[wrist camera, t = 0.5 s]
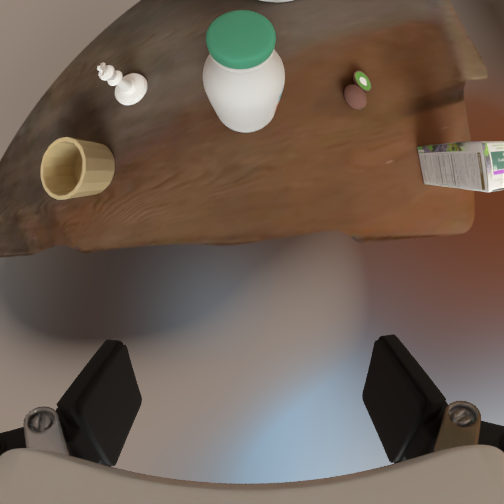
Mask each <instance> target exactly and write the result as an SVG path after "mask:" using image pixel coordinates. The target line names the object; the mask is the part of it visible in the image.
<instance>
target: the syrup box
mask: <svg viewBox="0 0 504 504" xmlns="http://www.w3.org/2000/svg"><path fill="white" fill-rule="evenodd" d="M417 150H418V155H419V159H420V165H421V170H422V175H423V181H424V184H428V185H437V186H445V187H454V188H461V189H468V190H475V191H483V192H492V191H499V190H504V141H474V142H473V141H472V142H455V143H445V144H436V145H428V146H421V147H417Z"/></svg>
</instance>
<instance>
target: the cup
mask: <svg viewBox="0 0 504 504" xmlns="http://www.w3.org/2000/svg"><path fill="white" fill-rule="evenodd" d="M114 171H115V161H114V157H113V154H112V152H111V151H110V149H109V148H108V147H107V146H105V145H104V144H101V143H98V142H94V141H88V140H83V139H77V138H72V137H63V138H59V139H57V140H56V141H55V142H53V143H52V144H51V145H50V146H49V147H48V149H47V151H46V152H45V154H44V156H43V160H42V163H41V181H42V184H43V187H44V189H45V190H46V192H47V193H48V194H49V195H50V196H51V197H53V198H55V199H58V200H61V199H69V198H75V197H81V196H88V195H95V194H98V193H100V192H102V191H103V190H105V189H106V188H107V187H108V185H109V184H110V182H111V180H112V178H113V175H114Z"/></svg>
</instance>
